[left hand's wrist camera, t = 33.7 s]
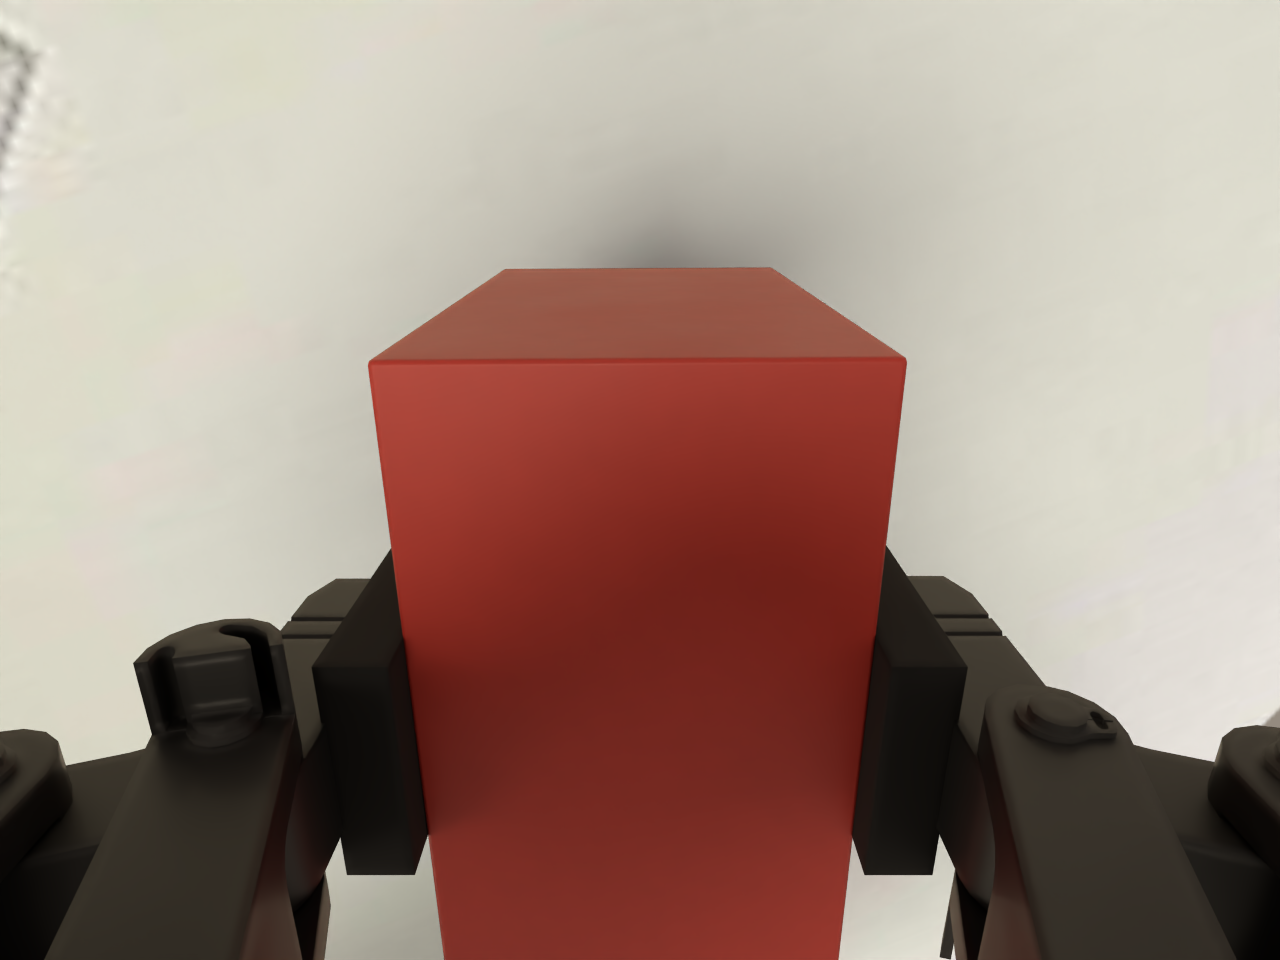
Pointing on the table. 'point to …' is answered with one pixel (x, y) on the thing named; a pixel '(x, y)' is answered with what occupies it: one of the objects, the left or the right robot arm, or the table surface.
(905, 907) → the table surface
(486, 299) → the brick
